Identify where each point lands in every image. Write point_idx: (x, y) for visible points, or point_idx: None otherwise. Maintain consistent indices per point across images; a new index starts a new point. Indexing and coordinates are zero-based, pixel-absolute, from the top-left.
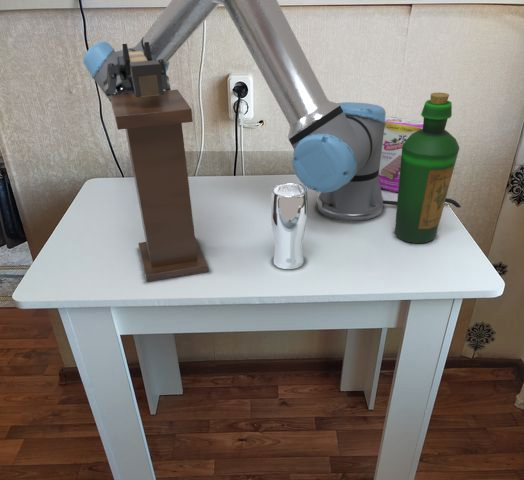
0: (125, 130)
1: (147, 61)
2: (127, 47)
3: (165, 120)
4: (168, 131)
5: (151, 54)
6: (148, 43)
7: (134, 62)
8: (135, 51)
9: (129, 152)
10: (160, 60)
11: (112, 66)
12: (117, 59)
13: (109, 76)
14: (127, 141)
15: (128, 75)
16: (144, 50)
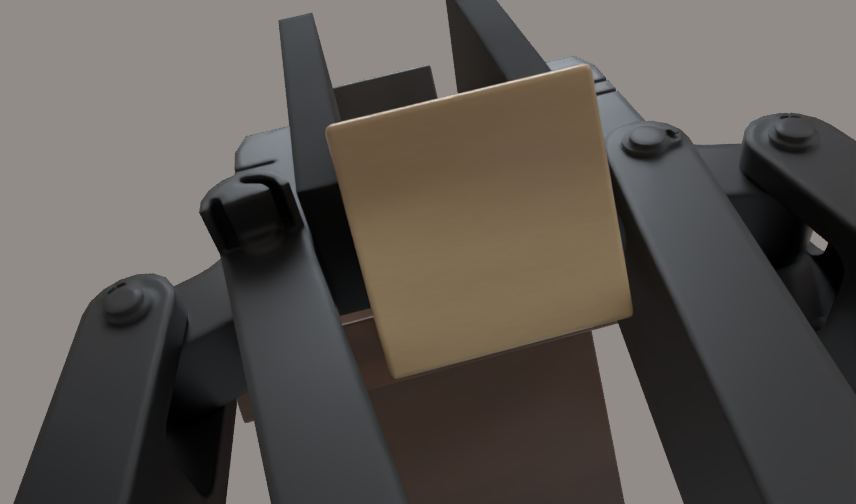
0: (602, 393)
1: (361, 81)
2: (447, 9)
3: None
4: None
5: (275, 130)
6: (285, 29)
7: (410, 69)
8: (430, 100)
9: (623, 498)
10: (146, 284)
11: (741, 150)
12: (593, 77)
13: (836, 251)
14: (612, 445)
15: (676, 398)
16: (326, 77)
